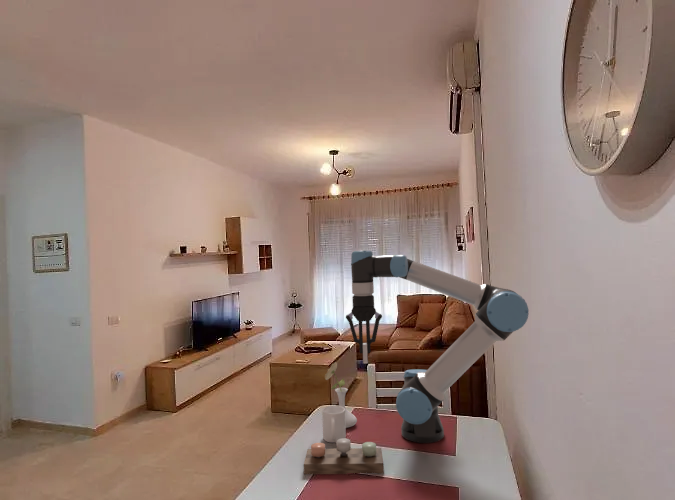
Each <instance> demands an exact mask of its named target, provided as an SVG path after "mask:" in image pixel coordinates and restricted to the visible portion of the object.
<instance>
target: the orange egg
mask: <svg viewBox="0 0 675 500" xmlns="http://www.w3.org/2000/svg"><path fill="white" fill-rule="evenodd" d="M310 445H311V446H310V449H311V455H312V456H314V457H316V458H321V456H324V455H325V449H326V444H325V443H324V442H315V443H312V444H310Z"/></svg>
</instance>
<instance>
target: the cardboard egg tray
mask: <svg viewBox="0 0 675 500" xmlns="http://www.w3.org/2000/svg"><path fill="white" fill-rule="evenodd" d="M384 465H385V464H384V459H383V450H382V447H376V455H374V456H372V457H367V456H365V455H363V454H362V447H360V448H359V447H356V448H353V447H351V450H350V451H348V452H346V456H342V455H341V452H339V451H337V448H325V455H324V456H321V458H316V457H314V456H312V455H311V448H308V449H307V450H306V454H305V458H304V462H303V474H304V475H348V474H347V473H354V474H355V473H377V474H384V473H385V469H384ZM354 474H353V475H354ZM355 475H356V474H355Z"/></svg>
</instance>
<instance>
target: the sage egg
mask: <svg viewBox="0 0 675 500" xmlns="http://www.w3.org/2000/svg"><path fill="white" fill-rule="evenodd" d="M361 448H362V454H363V455H365V456H367V457H372V456H374V455H376V448H377V444H376V442H372V441H366V442H363V443H362V444H361Z"/></svg>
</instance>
